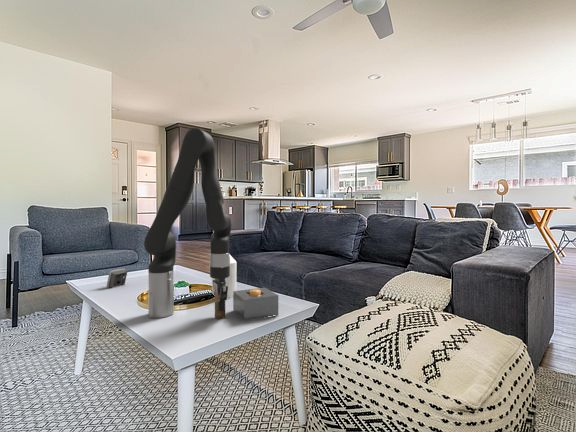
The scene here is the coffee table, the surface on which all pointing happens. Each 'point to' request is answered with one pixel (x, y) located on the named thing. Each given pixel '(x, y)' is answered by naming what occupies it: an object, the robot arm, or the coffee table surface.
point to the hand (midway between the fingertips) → (220, 308)
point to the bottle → (230, 278)
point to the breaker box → (255, 304)
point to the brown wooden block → (218, 313)
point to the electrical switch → (116, 278)
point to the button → (255, 292)
